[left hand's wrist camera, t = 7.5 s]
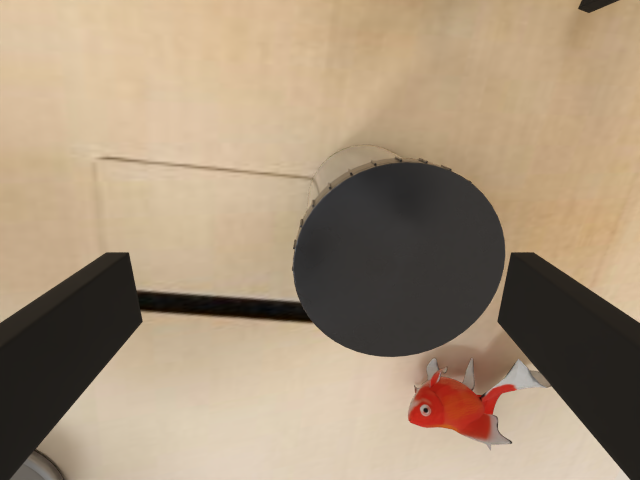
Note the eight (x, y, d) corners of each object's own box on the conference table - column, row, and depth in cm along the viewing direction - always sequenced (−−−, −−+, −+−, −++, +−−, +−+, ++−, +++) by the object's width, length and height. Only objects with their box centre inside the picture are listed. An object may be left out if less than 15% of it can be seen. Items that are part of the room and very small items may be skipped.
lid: (310, 350, 23) (310, 369, 21) (277, 174, 19) (273, 180, 17) (489, 326, 22) (503, 344, 21) (492, 141, 18) (509, 144, 17)
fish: (422, 330, 33) (493, 441, 27) (526, 312, 40) (602, 397, 34) (376, 386, 40) (425, 487, 33) (473, 363, 47) (528, 442, 40)
